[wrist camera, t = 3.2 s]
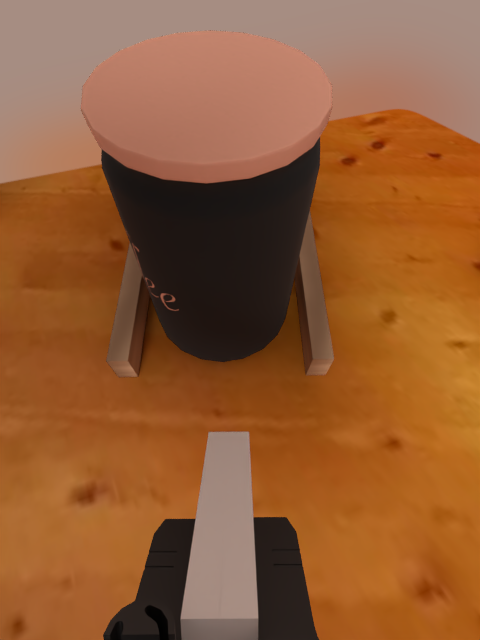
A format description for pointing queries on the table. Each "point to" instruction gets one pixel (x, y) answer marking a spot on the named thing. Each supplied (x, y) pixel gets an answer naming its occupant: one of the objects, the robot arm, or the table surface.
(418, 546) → the table surface
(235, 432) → the robot arm
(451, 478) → the table surface
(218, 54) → the coffee jar
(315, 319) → the channel
